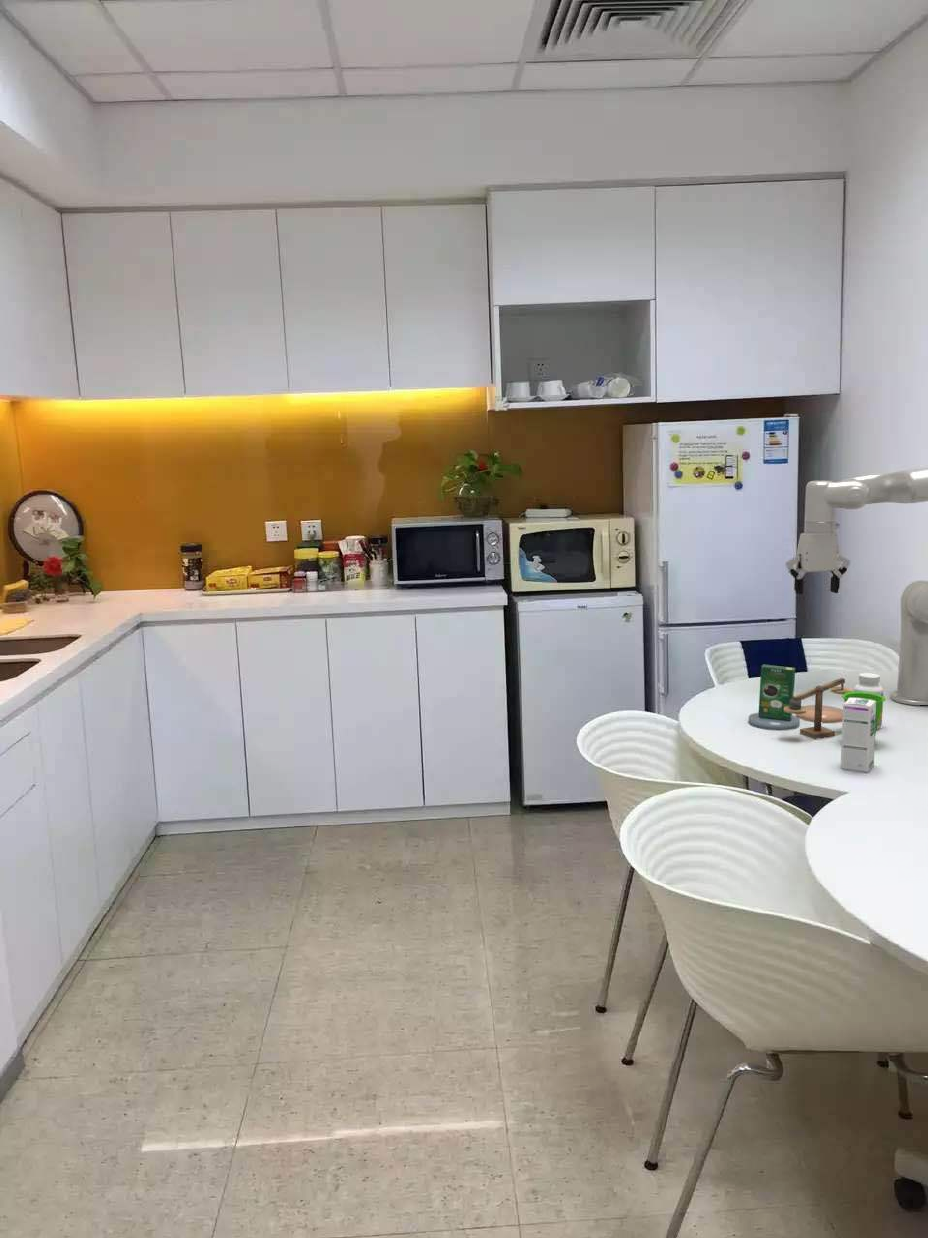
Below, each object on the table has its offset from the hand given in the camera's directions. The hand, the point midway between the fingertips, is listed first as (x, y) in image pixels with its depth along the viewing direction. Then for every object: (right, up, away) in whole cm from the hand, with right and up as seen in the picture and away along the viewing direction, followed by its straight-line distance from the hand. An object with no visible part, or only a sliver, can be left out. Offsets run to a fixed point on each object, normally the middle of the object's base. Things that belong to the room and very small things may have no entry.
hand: (816, 593), depth 265 cm
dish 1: (-17, -33, -18) cm, 41 cm away
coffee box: (-17, -32, -19) cm, 40 cm away
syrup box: (-9, -39, -51) cm, 65 cm away
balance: (-10, -34, -29) cm, 46 cm away
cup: (-2, -36, -35) cm, 50 cm away
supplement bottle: (+4, -33, -23) cm, 40 cm away
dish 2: (-4, -31, -13) cm, 34 cm away
